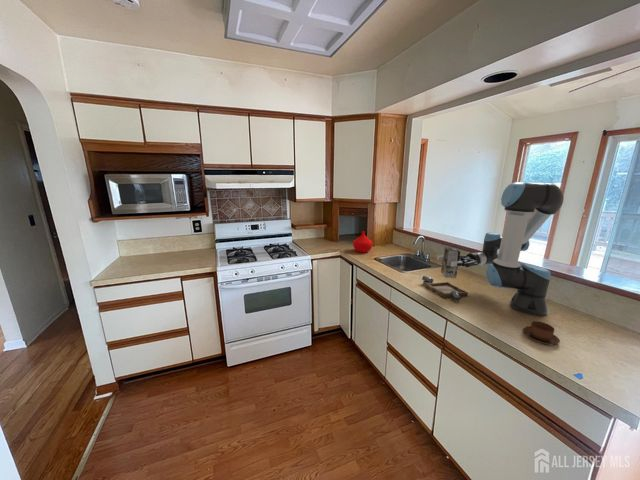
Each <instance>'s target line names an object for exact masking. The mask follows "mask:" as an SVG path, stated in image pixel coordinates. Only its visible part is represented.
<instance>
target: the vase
mask: <svg viewBox="0 0 640 480" xmlns="http://www.w3.org/2000/svg"><path fill="white" fill-rule="evenodd" d="M373 244H374V243H373V240H371V239H370V238H369V237H368V236H366V231H365V230H363V231H361V234H360V236H358V237H357V238H355V239H354V240H353V242H352V246H353V248H354V250H355V251H356V252H357V253H363V254H364V253H369V252H370V251H371V249H372V248H373V246H374V245H373Z"/></svg>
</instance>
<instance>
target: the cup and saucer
mask: <svg viewBox="0 0 640 480" xmlns="http://www.w3.org/2000/svg"><path fill="white" fill-rule="evenodd" d="M522 333H523V335H525V336H526V337H527V338H528V339H531V340H532V341H534V342H536V343H539V344H542V345H547V346H556V345H559V344H560V341H561V340H560V338H559V337H558V336H556V335H555V334H554V333H555V328H554V327H553V326H552V325H550V324H549V323H545V322H543V321H535V320H534V321H531V323H530V325H526V326H524V327H523V328H522Z"/></svg>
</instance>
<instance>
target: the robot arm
mask: <svg viewBox="0 0 640 480" xmlns="http://www.w3.org/2000/svg"><path fill="white" fill-rule="evenodd" d="M500 200H501V201H500V204H501V206H502V207H504V211H505V212H506V217H505V222H504V226H503V231H502V236H501V234H500V233H498V232H486V233H485V235H484V238H483V245H482V251H481V252H469V253H468V254H466V255H461V254H460V257H459V261H455V262H451V267H455V266H458V267H465V268H469V267H473V266H479V267H480V266H484V265H487V266H486V272H485V273H486V278H487V282H488V283H489V284H490V285H491V286H492V287H496V288H504V289H512V290H513V289H514V290H516V292H515V293H514V294H513V296H512V298H511V299H510V302H509V305H510V307H511V308H513V309H515V310H516V311H519V312H520V313H521V312H522V313H524V314H527V315H532V316H546V315H547V314H548V313H547V312H548V306H547V301H546V297H547V293H548V290H549V289H548V288H549V286H550V282H551V278H552V277H551V275H552V273H551V271H550V270H548V269H547V268H545V267H542V266H538V265H535V264H532V263H531V264H530V263H522V265H521V263H520V262H519V258H520V254H521V251H522V252H525V251H528V250H529V247H530V239H531V238H532V237H533V236H534V235H535V233H536V232H537V231H538V230H539V229H541V227H542V225H543V224H544V223H545V222H546V221H548V219H549V218H550V217H551V216H552V215H555V214H556V213H557V212H558V211H559V210H560V209H561V208H562V206H563V203H564V201H565V200H564V193H563V191H562V189H561V188H560V187H559V186H557V185H556V184H553V183H550V182H523V181H521V182H511V183H510V184H509V183H508V185H507V186H506V187H505V189H504V190H503V192H502V194H501V198H500ZM436 260H437V261H443V255H438V256H437V259H436Z"/></svg>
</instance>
